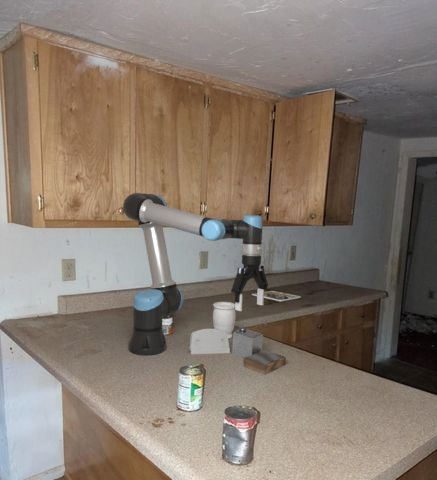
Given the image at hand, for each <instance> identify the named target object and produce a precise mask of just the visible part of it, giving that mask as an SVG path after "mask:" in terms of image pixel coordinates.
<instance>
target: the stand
mask: <svg viewBox="0 0 437 480" xmlns="http://www.w3.org/2000/svg"><path fill="white" fill-rule="evenodd" d="M286 358H287V357H286V356H284V355H280V354H278V353H275V352H272V351H269V350H267V349H262V351H260V352H258V353H255V354H253V355H250V356H248V357H245V358H243V364H242V367H244V368H247V369H250V370H252V371H254V370H255V372H257V373H259V374H261V375H263V376H264V375H267V374H270V373H271V372H273V371H275V370H277V369H280V368H281V367H283V366H286V361H287V360H286Z"/></svg>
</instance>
